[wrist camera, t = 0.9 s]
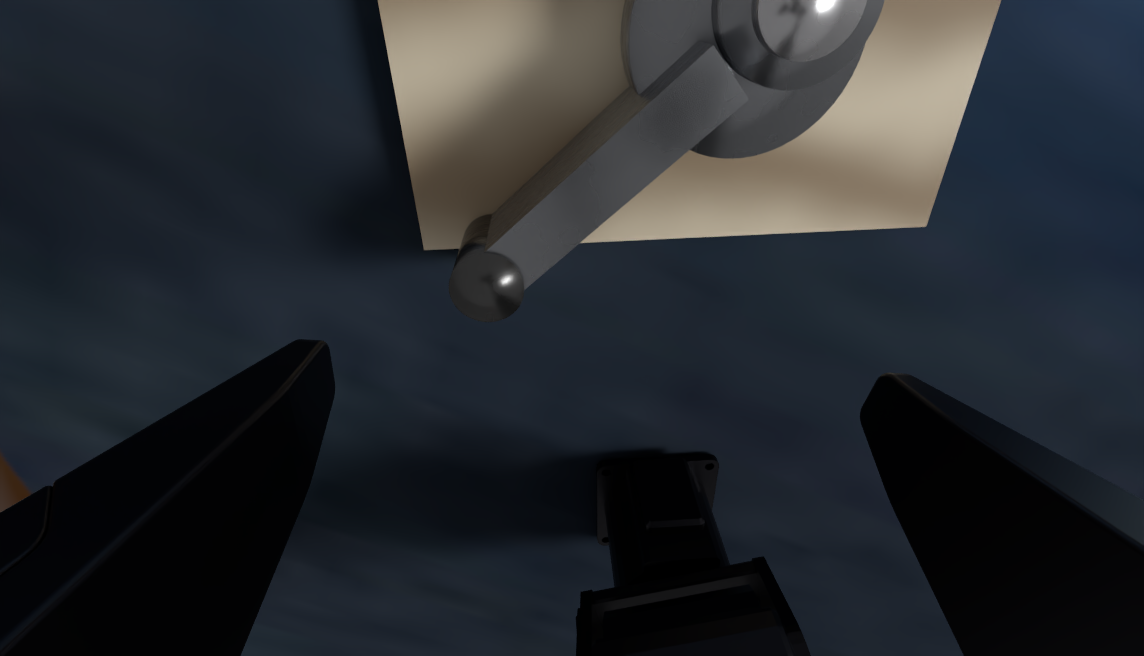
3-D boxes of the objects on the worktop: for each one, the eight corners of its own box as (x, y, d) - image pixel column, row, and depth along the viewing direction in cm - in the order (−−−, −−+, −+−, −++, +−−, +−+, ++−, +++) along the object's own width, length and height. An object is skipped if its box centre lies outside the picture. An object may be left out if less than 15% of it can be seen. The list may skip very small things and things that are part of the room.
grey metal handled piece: (767, -175, 15) (831, -223, 12) (876, 41, 18) (951, 51, 14) (401, 199, 20) (374, 239, 16) (535, 319, 23) (534, 373, 19)
